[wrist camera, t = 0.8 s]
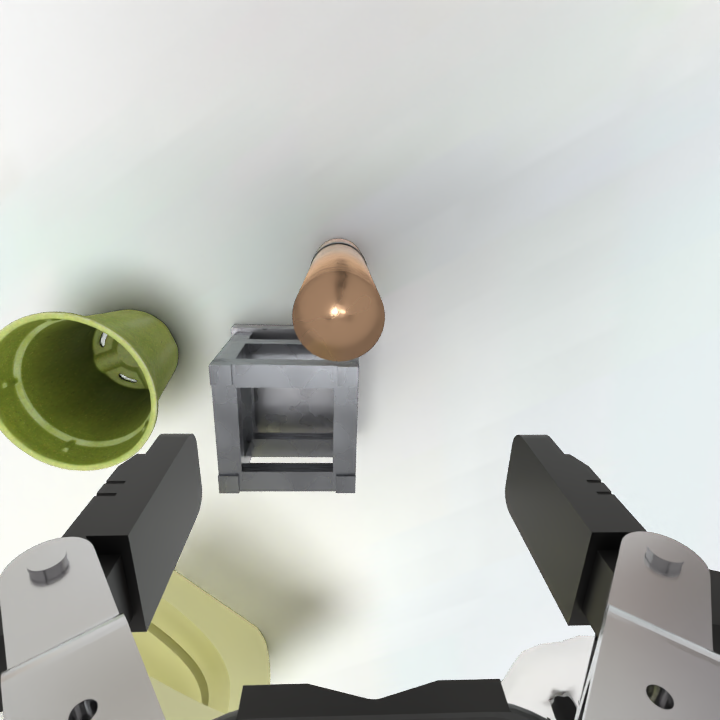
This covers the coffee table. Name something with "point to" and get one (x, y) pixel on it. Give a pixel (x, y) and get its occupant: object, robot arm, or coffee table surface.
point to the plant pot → (83, 385)
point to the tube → (338, 304)
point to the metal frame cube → (282, 413)
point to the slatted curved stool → (200, 653)
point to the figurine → (549, 678)
